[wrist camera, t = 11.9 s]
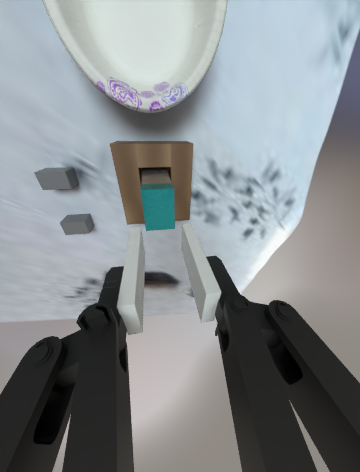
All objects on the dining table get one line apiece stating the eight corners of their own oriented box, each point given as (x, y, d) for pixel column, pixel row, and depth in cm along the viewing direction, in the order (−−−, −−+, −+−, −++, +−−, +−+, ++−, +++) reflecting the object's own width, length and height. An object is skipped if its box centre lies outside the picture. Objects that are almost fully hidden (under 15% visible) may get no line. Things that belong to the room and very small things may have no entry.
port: (130, 211, 31) (127, 224, 27) (116, 141, 24) (109, 144, 20) (184, 208, 32) (189, 219, 28) (186, 141, 25) (193, 143, 21)
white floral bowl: (122, 134, 23) (112, 136, 17) (30, -45, 15) (-64, -179, 8) (216, 87, 22) (243, 70, 16) (177, -141, 13) (203, -391, 7)
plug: (147, 195, 28) (146, 230, 19) (143, 166, 26) (140, 190, 16) (166, 194, 29) (174, 228, 19) (164, 165, 26) (174, 188, 16)
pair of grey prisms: (72, 226, 30) (65, 235, 28) (45, 168, 24) (34, 172, 22) (93, 224, 31) (89, 233, 29) (73, 167, 25) (64, 171, 22)
